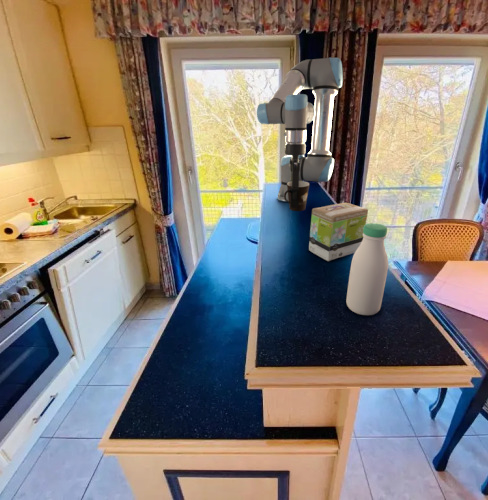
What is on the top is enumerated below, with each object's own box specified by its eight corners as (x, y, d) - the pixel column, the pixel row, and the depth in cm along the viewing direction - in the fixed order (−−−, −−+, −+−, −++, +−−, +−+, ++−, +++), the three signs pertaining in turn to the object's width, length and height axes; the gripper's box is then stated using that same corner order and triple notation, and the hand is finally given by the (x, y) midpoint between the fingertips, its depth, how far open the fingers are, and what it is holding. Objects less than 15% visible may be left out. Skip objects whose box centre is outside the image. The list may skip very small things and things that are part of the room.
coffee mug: (301, 203, 117) (303, 179, 113) (311, 210, 110) (313, 185, 106) (276, 207, 114) (276, 183, 109) (284, 214, 107) (285, 189, 102)
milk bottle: (382, 318, 62) (400, 234, 53) (347, 314, 63) (358, 232, 54) (377, 298, 69) (391, 220, 60) (344, 295, 70) (354, 219, 61)
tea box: (329, 262, 85) (333, 216, 79) (308, 251, 93) (310, 208, 87) (362, 251, 93) (369, 208, 86) (340, 241, 100) (345, 200, 94)
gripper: (284, 140, 110) (284, 197, 120) (285, 145, 93) (284, 212, 103) (303, 140, 110) (301, 197, 120) (308, 145, 92) (305, 212, 102)
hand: (293, 204), depth 111 cm, fingers closed on coffee mug, 7 cm apart
